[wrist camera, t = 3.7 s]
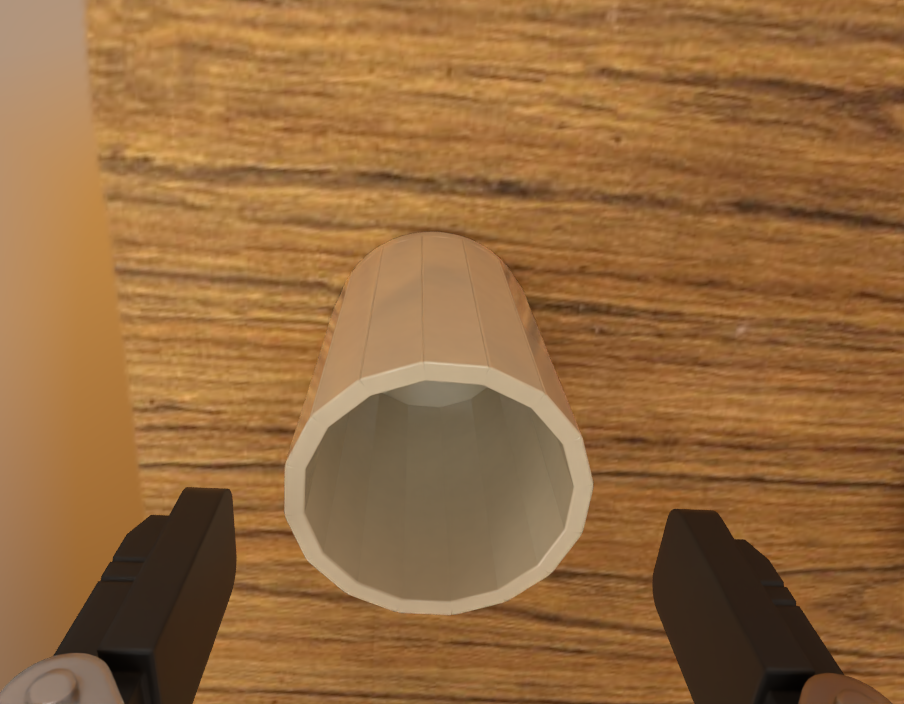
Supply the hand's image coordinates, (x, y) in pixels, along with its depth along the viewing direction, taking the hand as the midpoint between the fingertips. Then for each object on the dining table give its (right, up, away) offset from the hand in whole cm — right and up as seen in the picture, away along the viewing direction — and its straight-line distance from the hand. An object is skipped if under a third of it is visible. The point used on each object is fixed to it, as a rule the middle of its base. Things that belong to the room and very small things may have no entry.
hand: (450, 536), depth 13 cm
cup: (-1, +4, +9) cm, 10 cm away
